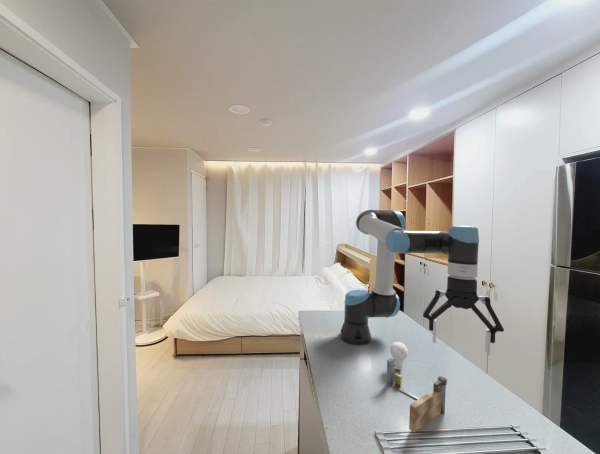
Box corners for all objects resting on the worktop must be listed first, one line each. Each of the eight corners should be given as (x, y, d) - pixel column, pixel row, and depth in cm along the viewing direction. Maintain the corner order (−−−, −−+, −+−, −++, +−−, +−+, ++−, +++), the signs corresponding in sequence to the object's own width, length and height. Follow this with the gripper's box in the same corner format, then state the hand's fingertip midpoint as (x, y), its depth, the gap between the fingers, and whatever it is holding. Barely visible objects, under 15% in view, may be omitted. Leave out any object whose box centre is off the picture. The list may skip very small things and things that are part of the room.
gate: (415, 434, 68) (416, 399, 68) (407, 427, 70) (408, 394, 70) (447, 410, 77) (448, 379, 77) (439, 405, 79) (440, 375, 79)
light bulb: (406, 367, 101) (407, 340, 101) (407, 376, 95) (409, 348, 94) (389, 363, 103) (390, 337, 103) (389, 372, 97) (390, 345, 97)
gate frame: (386, 384, 90) (387, 360, 89) (390, 381, 92) (391, 357, 91) (443, 415, 76) (444, 386, 76) (446, 410, 78) (447, 382, 78)
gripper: (415, 274, 78) (413, 341, 78) (519, 285, 66) (516, 364, 66) (417, 270, 84) (415, 332, 85) (511, 280, 72) (509, 352, 73)
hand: (459, 346), depth 75 cm, fingers open, 13 cm apart
